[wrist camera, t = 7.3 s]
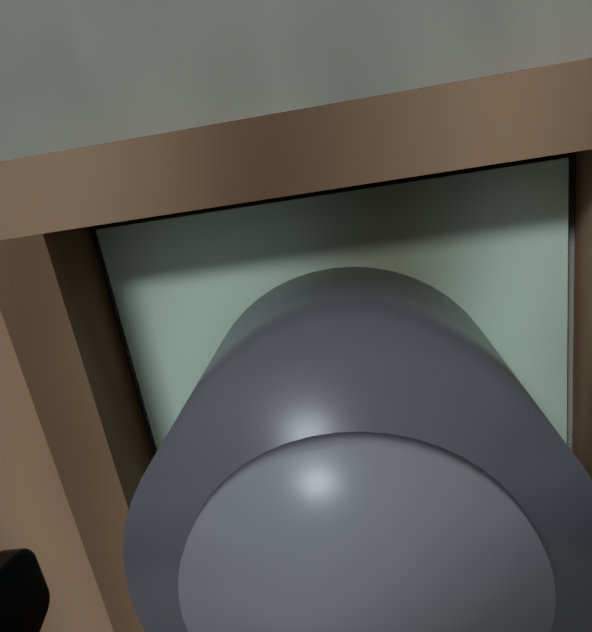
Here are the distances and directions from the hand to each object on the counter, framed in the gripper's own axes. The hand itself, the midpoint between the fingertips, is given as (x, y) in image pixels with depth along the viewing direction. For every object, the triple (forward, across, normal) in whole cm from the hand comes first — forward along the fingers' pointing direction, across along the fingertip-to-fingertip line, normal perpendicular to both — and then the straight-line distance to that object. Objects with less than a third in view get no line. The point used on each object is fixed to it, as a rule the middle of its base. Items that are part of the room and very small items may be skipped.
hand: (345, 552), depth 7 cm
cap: (+4, 0, 0) cm, 4 cm away
